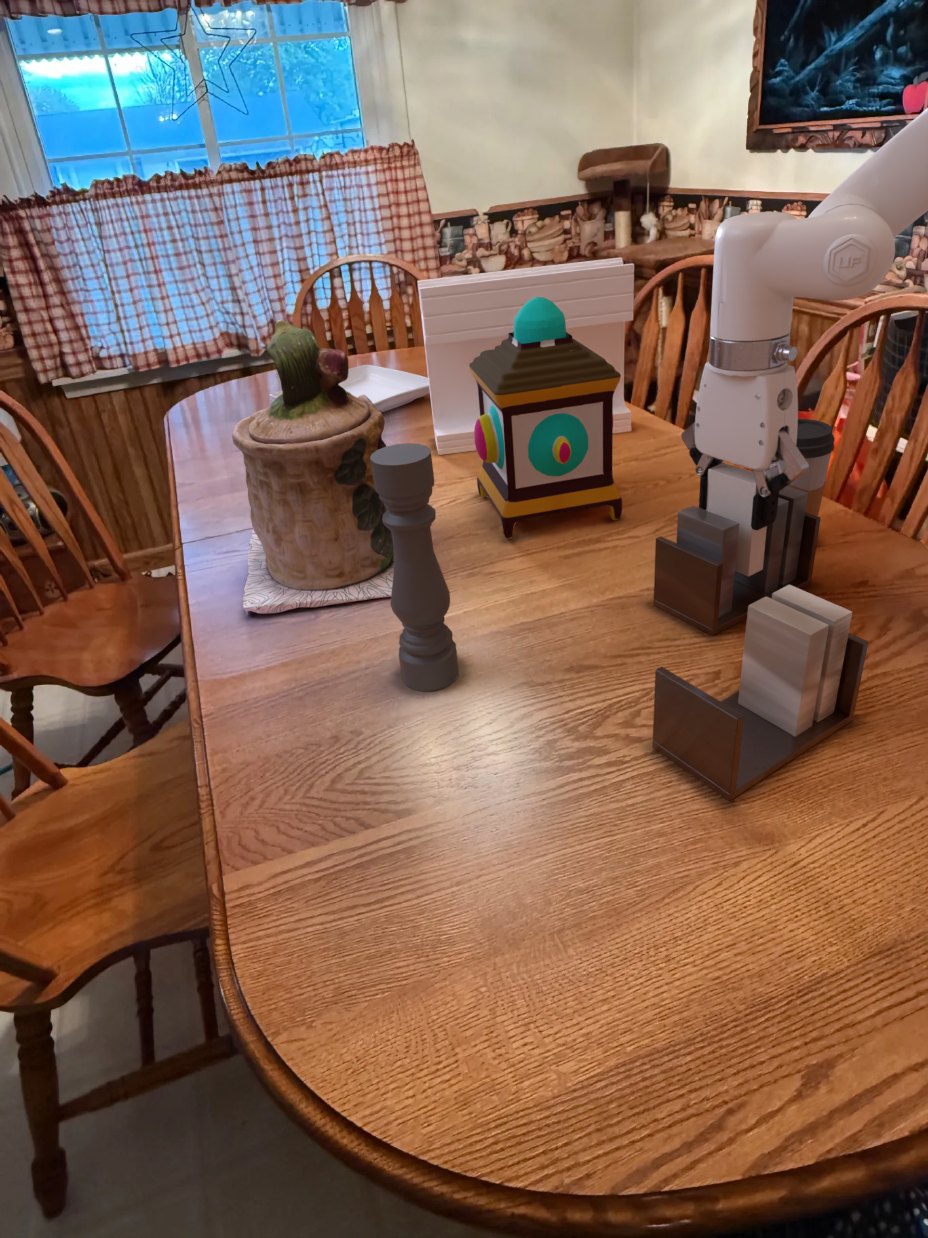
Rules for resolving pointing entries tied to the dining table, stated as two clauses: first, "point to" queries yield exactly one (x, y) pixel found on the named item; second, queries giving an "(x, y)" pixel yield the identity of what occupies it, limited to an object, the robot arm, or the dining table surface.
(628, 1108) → the dining table surface
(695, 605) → the dark brown wooden holder
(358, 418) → the cookie jar
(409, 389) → the square plate
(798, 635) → the dark brown rack
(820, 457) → the coffee cup
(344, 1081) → the dining table surface
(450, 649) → the candle holder
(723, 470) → the white book
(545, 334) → the decorative lantern
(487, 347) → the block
